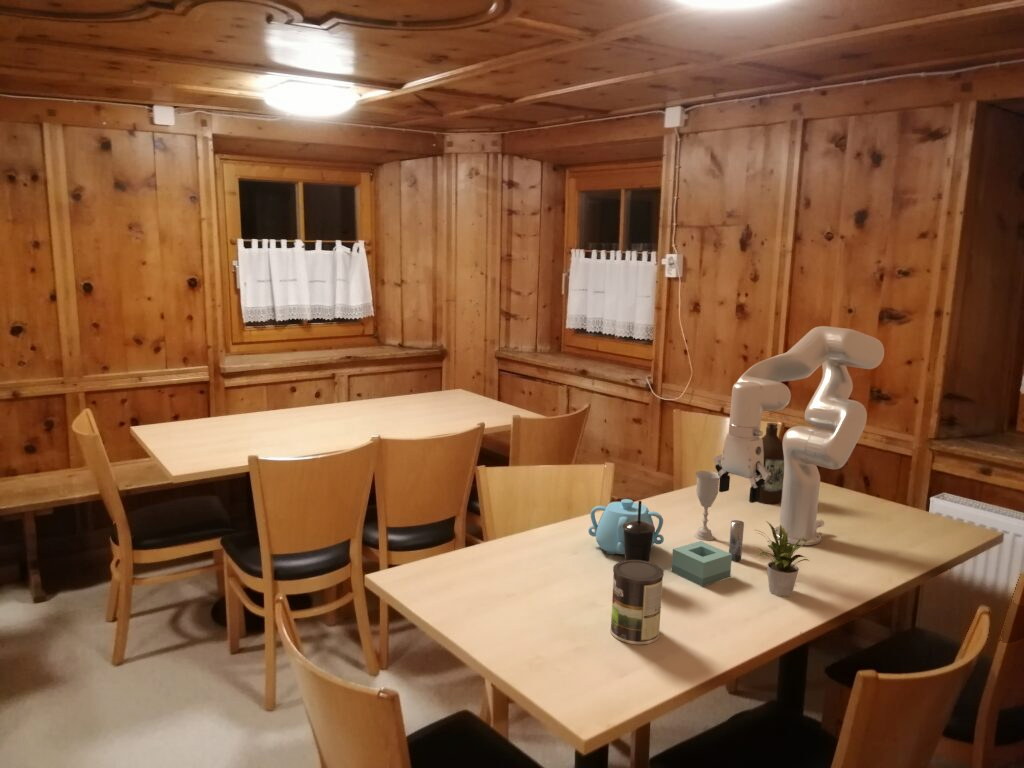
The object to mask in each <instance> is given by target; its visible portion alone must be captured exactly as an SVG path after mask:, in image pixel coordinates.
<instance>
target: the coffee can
mask: <svg viewBox="0 0 1024 768" xmlns="http://www.w3.org/2000/svg"><path fill="white" fill-rule="evenodd" d="M612 570H613V579H612V580H613V581H612V582H613V583H612V600H611V601H612V602H611V616H610V617H611V622H610V634H611V635H612V637H614V638H615V639H616V640H618V641H620V642H623V643H626V644H629V645H637V646H639V645H643V646H644V645H649V644H650V645H651V644H653V643H654V642H656V641H657V640H658V639H659V638H660V625H661V611H662V610H661V608H662V596H663V595H662V594H663V579H664V576H665V575H664V569H663V568H662V567H661V566H659V565H658V564H655V563H653V562H650V561H649V562H647V561H642V560H625V559H624V560H621V561H619V562H616V563H615V564H614V565H613V567H612Z"/></svg>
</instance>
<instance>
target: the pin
mask: <svg viewBox="0 0 1024 768" xmlns="http://www.w3.org/2000/svg"><path fill="white" fill-rule="evenodd" d="M744 527H745V522H744V521H742V520H737V519H733V520H731V521H730V530H729V531H730V532H729V547H728V553H730V554H732V559H731V562H741V561H742V553H743V543H744V542H743V541H744Z"/></svg>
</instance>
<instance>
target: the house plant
mask: <svg viewBox="0 0 1024 768" xmlns="http://www.w3.org/2000/svg"><path fill="white" fill-rule="evenodd" d="M765 522H766V523H767V524H768V526H769V527H770V529H771V533H772V536H773V539H774V541H772V540H771V539H770V538H768V537H767V536H766V535H765V534H764V532H762V531H761V530H758V529H755V531H757V534H758V535H759V534H760V535H761V536H763V537H764V538H766V537H767V538H768V539H769V540H768V539H767V538H766V541H767V542H768V544H767V547H768V548H769V549H770V550H771V551H772V553H773V554H772V553H770V552H767V551H763V550H762V548H760V547H756V546H754V549H755V548H756V549H759V550H760V551H761V552H759V553H758V554H757V556H756V557H760V556H762V555H763V556H764V555H770V556H772V557H773V560H770V561H769V562H767V564H766V568H767V569H766V571H767V579H768V590H769V593H771V594H772V595H774V596H778V597H790V596H792V594H793V592H794V588H795V585H796V581H797V577H798V573H799V567H798V566H797V565H796V564H798V563H800V562H803V561H808V562H810V560H809V559H807V557H806V556H804V555H803V554H796V552H797V551H798V549H800V548H801V549H802V547H804V546H806V545H805V544H806V543H808V542H811V541H815V540H810V541H807V542H806V543H804V544H802V545H798V543H799V542H800V541H801V539H802V537H803V536H804V535H803V536H802V537H801V538H800V539H799V540H798V542H797V543H796V544H790V543H788V537H787V535H788V533H786V531H785V529H784V528H782V526H781V524H780V523H779V525H780V532H779V539H777V535H776V532H775V529H774V526H773V525H772V524H771V523H770V522H769V521H766V520H765ZM789 531H790V530H789ZM759 532H760V533H759ZM764 535H765V536H764ZM782 536H783V538H782ZM794 554H795V555H794ZM798 558H802V559H800V560H798V561H796V560H797V559H798ZM794 561H796V562H795V563H793V562H794Z"/></svg>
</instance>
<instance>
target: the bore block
mask: <svg viewBox="0 0 1024 768" xmlns="http://www.w3.org/2000/svg"><path fill="white" fill-rule="evenodd" d="M671 556H672V557H671V573H674V574H675V575H677V576H680V577H681V578H683V579H685V580H688V581H690V582H692V583H693V584H696V585H698V586H700V587H706V586H708V585H712V584H714V583H717V582H720V581H723V580H726V579H729V578H731V571H732V561H731V559H732V554H730V553H729V551H728V552H727V551H725V550H723V549H720V548H718V547H716V546H714V545H712V544H709V543H707V542H704V541H703V540H699V541H696V542H693V543H689V544H684V545H682V546H678V547H674V548H672V554H671Z"/></svg>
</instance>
